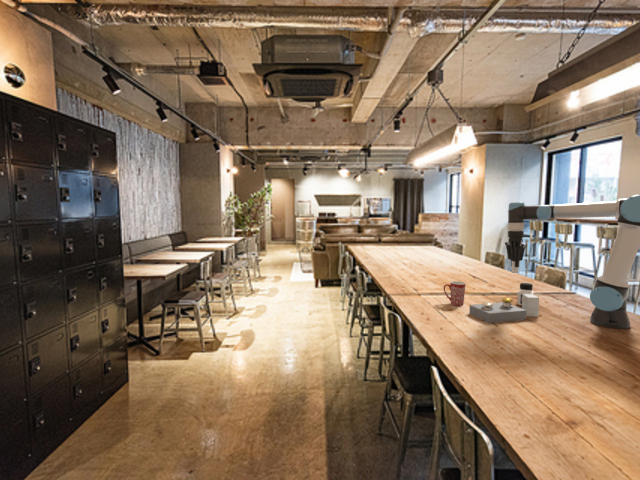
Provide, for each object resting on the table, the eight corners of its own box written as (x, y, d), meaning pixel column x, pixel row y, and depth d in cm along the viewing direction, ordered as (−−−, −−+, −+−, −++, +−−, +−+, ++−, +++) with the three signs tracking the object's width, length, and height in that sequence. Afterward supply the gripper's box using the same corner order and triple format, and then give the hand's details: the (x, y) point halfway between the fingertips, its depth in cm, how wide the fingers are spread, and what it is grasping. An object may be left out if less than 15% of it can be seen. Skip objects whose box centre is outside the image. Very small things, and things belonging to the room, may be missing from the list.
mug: (465, 303, 208) (466, 281, 206) (464, 307, 200) (465, 284, 198) (444, 300, 213) (444, 280, 212) (442, 304, 205) (442, 283, 204)
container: (532, 306, 198) (533, 285, 197) (517, 304, 203) (518, 283, 202) (533, 303, 205) (534, 282, 203) (518, 301, 209) (519, 281, 208)
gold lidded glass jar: (514, 312, 181) (514, 299, 180) (506, 313, 180) (506, 300, 179) (507, 309, 186) (507, 297, 185) (499, 310, 185) (499, 297, 184)
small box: (538, 317, 180) (539, 297, 179) (527, 316, 181) (528, 297, 180) (532, 312, 188) (533, 294, 187) (521, 311, 189) (522, 293, 188)
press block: (526, 319, 176) (526, 310, 176) (489, 323, 172) (489, 313, 171) (503, 310, 192) (503, 302, 191) (469, 313, 187) (469, 304, 187)
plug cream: (494, 317, 178) (495, 304, 178) (486, 318, 177) (486, 305, 177) (488, 314, 183) (488, 301, 183) (479, 315, 182) (480, 302, 182)
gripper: (531, 230, 179) (530, 274, 181) (512, 229, 192) (511, 270, 194) (519, 231, 177) (518, 275, 179) (501, 230, 190) (500, 271, 192)
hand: (514, 272), depth 186 cm, fingers closed
